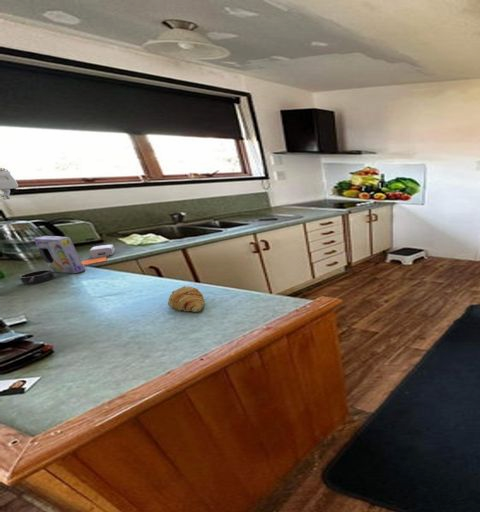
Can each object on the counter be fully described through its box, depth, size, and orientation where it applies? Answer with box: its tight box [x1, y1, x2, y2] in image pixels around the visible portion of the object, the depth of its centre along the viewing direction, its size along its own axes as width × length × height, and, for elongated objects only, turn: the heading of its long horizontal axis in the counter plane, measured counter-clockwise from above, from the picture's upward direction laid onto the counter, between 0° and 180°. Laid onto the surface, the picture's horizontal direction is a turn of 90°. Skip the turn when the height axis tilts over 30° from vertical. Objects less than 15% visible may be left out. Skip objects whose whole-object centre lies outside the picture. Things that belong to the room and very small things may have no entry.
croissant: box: [167, 286, 205, 313], centre depth 98 cm, size 21×10×8 cm
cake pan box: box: [33, 235, 86, 275], centre depth 131 cm, size 19×5×18 cm, turn 75°
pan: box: [19, 269, 55, 285], centre depth 123 cm, size 9×9×4 cm
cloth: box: [81, 256, 108, 266], centre depth 147 cm, size 10×10×1 cm
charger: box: [88, 244, 116, 259], centre depth 160 cm, size 5×9×15 cm
